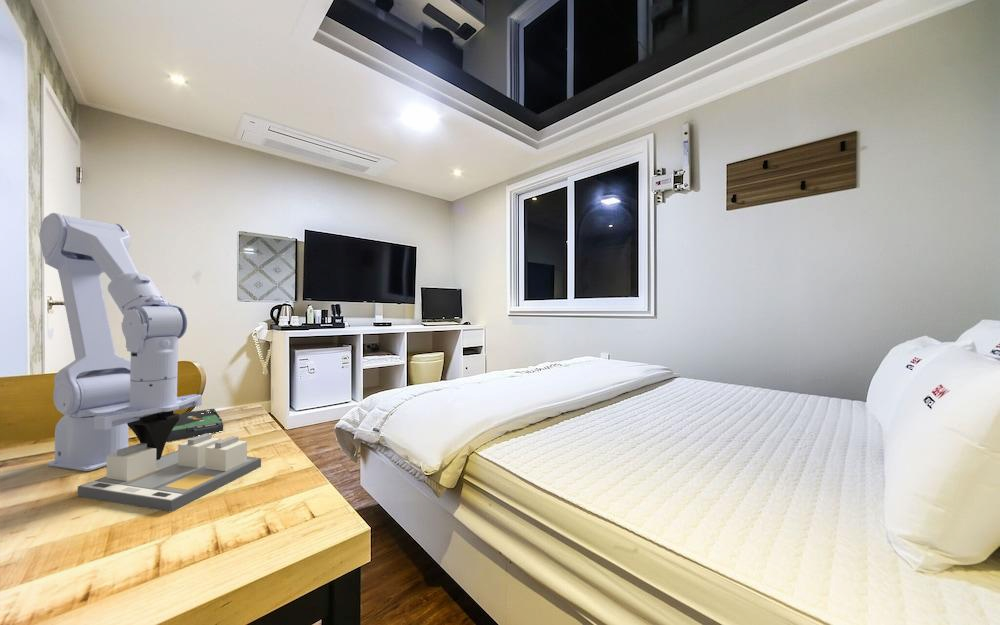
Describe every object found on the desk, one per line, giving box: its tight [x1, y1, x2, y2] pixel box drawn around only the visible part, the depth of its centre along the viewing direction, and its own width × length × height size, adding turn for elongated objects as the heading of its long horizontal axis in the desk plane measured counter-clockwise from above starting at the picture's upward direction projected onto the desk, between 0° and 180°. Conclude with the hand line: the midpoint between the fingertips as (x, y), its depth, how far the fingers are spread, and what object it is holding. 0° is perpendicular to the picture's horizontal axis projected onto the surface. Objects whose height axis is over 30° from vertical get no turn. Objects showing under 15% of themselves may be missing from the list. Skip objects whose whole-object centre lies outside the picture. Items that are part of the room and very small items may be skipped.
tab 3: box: [205, 435, 248, 471], centre depth 62 cm, size 4×4×4 cm
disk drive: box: [166, 408, 224, 443], centre depth 84 cm, size 10×3×15 cm
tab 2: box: [177, 433, 222, 468], centre depth 63 cm, size 4×4×4 cm
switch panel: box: [77, 450, 262, 513], centre depth 60 cm, size 17×15×2 cm
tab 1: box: [106, 442, 156, 481], centre depth 58 cm, size 4×4×4 cm
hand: (153, 459), depth 61 cm, fingers closed
